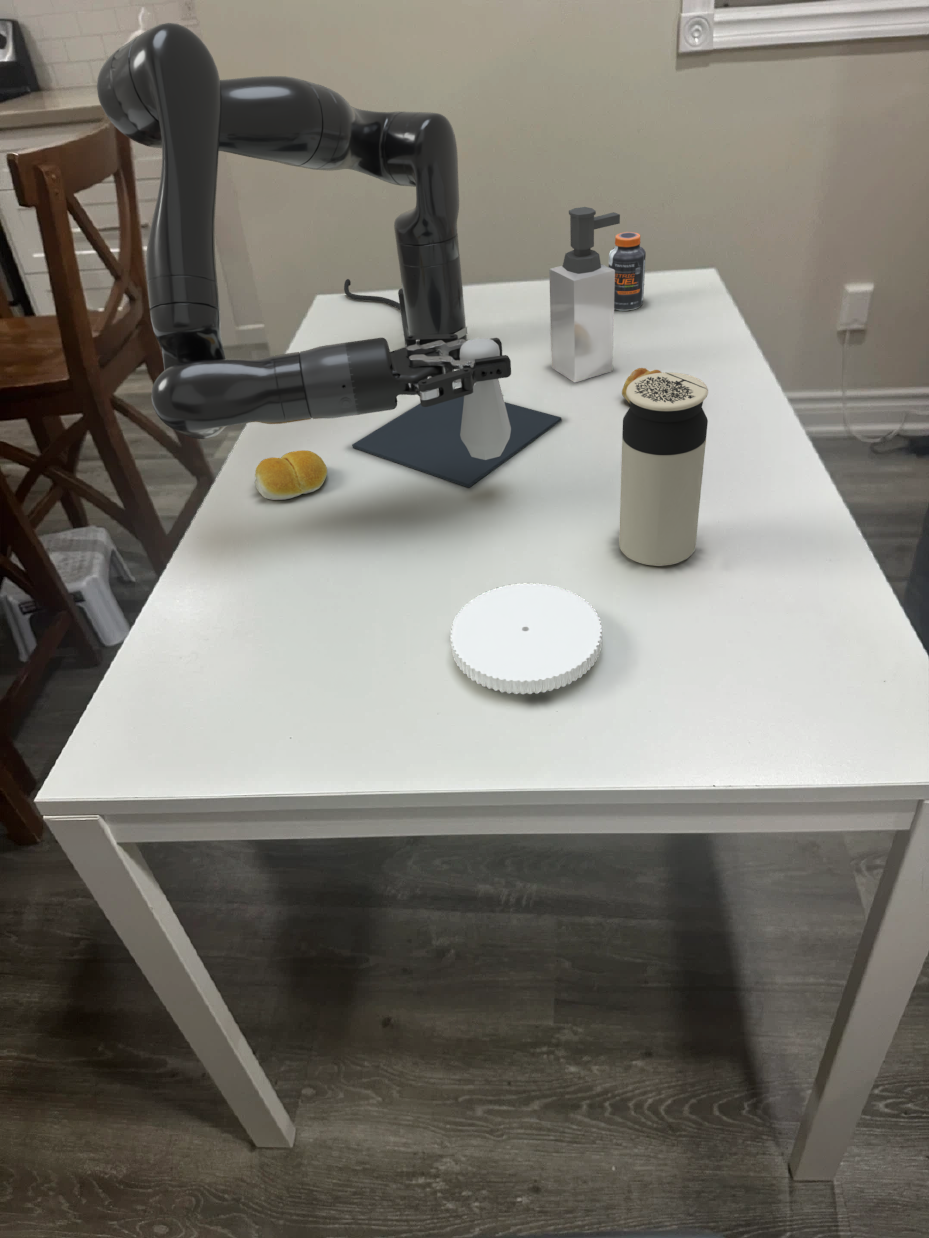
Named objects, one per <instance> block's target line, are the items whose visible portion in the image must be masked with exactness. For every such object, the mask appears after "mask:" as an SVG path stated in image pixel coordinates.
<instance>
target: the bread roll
mask: <svg viewBox="0 0 929 1238" xmlns="http://www.w3.org/2000/svg"><path fill="white" fill-rule="evenodd" d="M254 471H255V473H254V478H255V481H254V484H255V487H256V489H257V491H258V493H259V494H260V495H261V496H262V497H263V498H265V499H268V500H272V501H273V500H276V501H279V500H281V501H283V500H284V501H285V500H289V499H293V498H296V497H299V496H301V495H302V494H303V495H304V494H305V495H306V494H311V493H313V492H316V491H317V490H319V489H320V488H321V487H322V486H323V484H324V482H325V480H326V478H327V475H328V467H327V465H326V462H325V461H324V460H323V458H322V457H321V456H320V455H318V454H317V453H316V452H314V451H310V450H295V451H289V452H287V453H285V454H284V455H282V456H281V457H267V458H264V459H263V460H261V461H259V463H258V465H256V467H255V470H254Z"/></svg>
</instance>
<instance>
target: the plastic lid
mask: <svg viewBox="0 0 929 1238" xmlns="http://www.w3.org/2000/svg"><path fill="white" fill-rule="evenodd" d="M593 607H594V606H593V605H592V604H590V602H589V601H586V599H585V598H583V597H581V595H577V593H576V592H572V590H570V589H569V590H567V589H566V588H561V586H555V585H553V584H551V585H549V584H548V583H545V584H543V583H542V582H541V583H540V582H539V583H536V582H533V583H530V582H526V583H524V582H520V583H514V584H507V585H501V587H498V586H497V587H496V588H495V589H493V588H492V589H490V590H489V591H485V592H484V593H480V594H479V595H478V596H474V598H473V599H470V600H469V602H466V603H465V605H463V606H462V607H461V609H459V611H458V613H456V614H455V617H454V618H453V621H452V622H451V626H450V630H449V633H450V634H449V637H450V639H449V640H450V647H451V653H452V658H453V659H454V662H455V663H456V666H457V667H459V670H460V671H462V674H464V675H466V677H467V678H468V679H469V678H470V679H471V681H472V682H476V684H478V685H480V684H481V686H482V687H487V689H489V690H491V689H493V691H495V692H497V691H500V693H505V692H506V693H507V694H511V693H513V694H514V695H518V694H521V695H525V694H527V695H532V694H533V693H535V694H539V693H546V692H548V691H549V692H552V691H553V690H554V689H555V690H558V689H560V687H562V688H564V687H566V685H570V684H572V682H577V681H578V679H581V678H582V677H583V675H586V674H588V673H587V671H590V670H591V667H594V666H595V663H596V662H597V660H598V658H600V654H601V650H602V646H603V645H602V644H603V625H602V621H601V618H600V616H599V614H598V612H597V611H596V609H595V608H593Z"/></svg>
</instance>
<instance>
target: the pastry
mask: <svg viewBox="0 0 929 1238" xmlns="http://www.w3.org/2000/svg"><path fill="white" fill-rule="evenodd" d="M654 373H663V372H662V371H661V370H659V369H653V370H649V369H647V367H638V368H636V369H634V370H632V371H631V373H630V375H628V377H627V378H626V380H625V382H624V384H623V387H622V389H621V395H622V396H623V397H624V399H625V400H626V401H627V402H628V404H630V400H629V399H628V397H627V394H626V390H627V387H628V385H629V384H630V383H631V382H632V381H634V380H636V379H637V378H640V377H642V376H645V375H649V374H654Z"/></svg>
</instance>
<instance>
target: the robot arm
mask: <svg viewBox="0 0 929 1238" xmlns="http://www.w3.org/2000/svg"><path fill="white" fill-rule="evenodd" d="M214 59H215V58H214V57H213V55H212V53H211V52H210V50H209V48H208V47H207V45H206V44H205V43H204V41H203V40H202V39H201V38H200V37H199V36H198V35H197V34H195V33H194V31H192V30H191V29H190V28H188V27H186V26H184V25H182V24H179V23H175V22H164V23H160V24H158V25H155V26H152V27H151V28H149V29H147V30H146V31H144V32H142V33H141V34H139V35H137V36H135V38H132V39H131V40H130V41H128V42H127V43H125V44H123V45H122V46H121V47H119V48H117V49H116V50H115V51H114V52H113V53H112V54H111V55H110V56H109V57H108V58H107V59H106V60H105V62H104V63H103V65H102V66H101V68H100V70H99V72H98V75H97V82H96V91H97V99H98V102H99V104H100V106H101V108H102V111H103V112H104V114H105V116H106V117H107V118H108V120H109V121H110V122H111V124H112V125H113V126H114V127H115V128H116V129H117V130H118V131H119V132H120V133H121V134H123V135H124V136H125V137H127V138H129V139H130V140H132V141H134V142H135V143H137V144H140V145H143V146H145V147H148V148H155V149H161V170H160V172H161V173H160V180H159V186H158V191H157V198H156V202H155V207H154V211H153V214H152V215H153V216H152V220H151V223H150V224H151V225H150V228H149V233H148V239H147V246H146V252H145V253H146V254H145V273H146V285H147V296H148V297H147V298H148V307H149V315H150V323H151V327H152V330H153V335H154V336H155V339H156V340H157V342H158V344H159V346H160V349H161V354H162V355H161V356H162V362H163V371H162V372H161V373H160V374H159V375H158V376H157V377H156V379H155V381H154V382H153V385H152V388H151V393H150V394H151V395H150V398H151V399H150V400H151V404H152V408H153V410H154V412H155V414H156V415H157V417H158V418H159V419H160V420H161V422H162V423H163V424H164V425H166V426H167V427H168V428H170V429H172V430H173V431H175V432H178V433H180V434H182V435H184V436H186V437H189V438H191V439H195V440H206V439H207V440H208V439H210V438H214V437H217V435H219V434H221V433H222V432H223V431H224V430H225V428H226V427H231V426H237V425H245V424H250V423H258V424H259V423H260V424H264V425H281V424H289V423H294V422H296V423H297V422H302V421H309V420H317V419H318V420H320V419H339V418H345V417H353V416H360V415H366V414H372V413H373V414H374V413H378V412H386V411H393V410H395V409H396V408H397V406H398V398H397V397H398V396H400V395H401V396H416V395H417V396H418V397H419V401H420V402H419V404H420V403H421V406H423V407H429V406H432V405H435V404H439V403H442V402H446V401H449V400H452V399H456V398H459V397H462V396H466V395H469V394H472V393H473V386H475V385H476V384H477V382H479V381H486V380H493V379H499V380H500V379H506V378H509V377H511V375H512V361H511V359H510V357H509V356H508V354H503V343H502V341H501V339H500V338H499V337H491V338H490V339H491V340H493V341H494V342H496V343H497V344H498V346H499V350H500V356H495V357H488V358H481V359H475V361H473V360H460V349H461V346H462V345H463V343H465V342H466V341H468V340H469V339H468V336H467V335H468V327H467V325H466V323H467V322H466V312H465V311H466V310H465V300H464V288H463V278H462V277H463V276H462V266H461V265H462V264H461V256H460V255H461V254H460V244H459V233H458V218H459V213H460V184H459V183H460V182H459V158H458V145H457V138H456V134H455V131H454V128H453V126H452V124H451V122H450V120H449V119H448V118H447V117H446V115H443V114H442V113H440V112H431V111H430V112H429V111H427V112H426V111H425V112H424V111H374V110H368V109H367V110H366V109H361V108H356V107H354V106H352V105H351V104H350V102H348V101H347V99H346V98H345V97H344V96H343V95H341V94H340V93H339V92H337V91H336V90H333V89H332V88H329V87H327V86H324V85H321V84H319V83H315V82H311V81H308V80H304V79H302V78H297V77H293V76H286V75H285V76H284V75H262V76H261V75H260V76H249V77H247V76H246V77H239V78H227V79H221V78H220V74H219V70H218V67H217V64H216V62H215V60H214ZM219 152H222V153H229V154H233V155H237V156H242V157H247V158H251V159H257V160H262V161H268V162H274V163H278V164H283V165H287V166H290V167H291V166H292V167H296V168H297V167H298V168H301V169H309V170H314V171H325V172H330V171H331V172H332V171H340V170H351V171H355V172H358V173H361V174H364V175H367V176H370V177H373V178H375V179H378V180H380V181H383V182H386V183H388V184H391V185H395V186H400V187H411V188H415V198H416V199H415V207H414V208H411V209H408V210H406V211H404V212H402V213H400V214H398V215H397V216H396V218H395V219H394V222H393V228H394V237H395V244H396V252H397V259H398V266H399V273H400V281H401V288H399V289H398V291H397V295H398V296H397V297H398V301H396V300H393V299H390V298H387V297H384V296H378V295H363V294H355V293H352V292H350V289H349V288H350V286H351V284H352V283H351V280H350V279H349V278H346V280H345V281H344V286H343V292H344V294H345V295H346V296H347V297H348V298H350V299H353V300H357V301H367V302H380V303H384V304H387V305H390V306H392V307H395V308H396V309H398V310H399V311H400V318H401V324H402V331H403V339H404V347H401V348H398V349H395V350H392V351H391V350H390V346H389V343H388V340H387V339H386V338H385V337H374V338H368V339H361V340H354V341H346V342H339V343H333V344H325V345H319V346H317V347H313V348H310V349H306V350H303V351H295V352H288V353H281V354H275V355H269V356H264V357H259V358H253V359H251V358H250V359H242V358H241V359H238V358H237V359H235V358H234V359H231V358H229V359H226V354H225V350H224V345H223V339H222V329H221V325H222V324H221V307H220V295H219V283H218V275H217V274H218V273H217V263H216V262H217V261H216V260H217V259H216V205H217V204H216V203H217V189H218V188H217V187H218V172H219V171H218V170H219V155H220V153H219Z"/></svg>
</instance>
